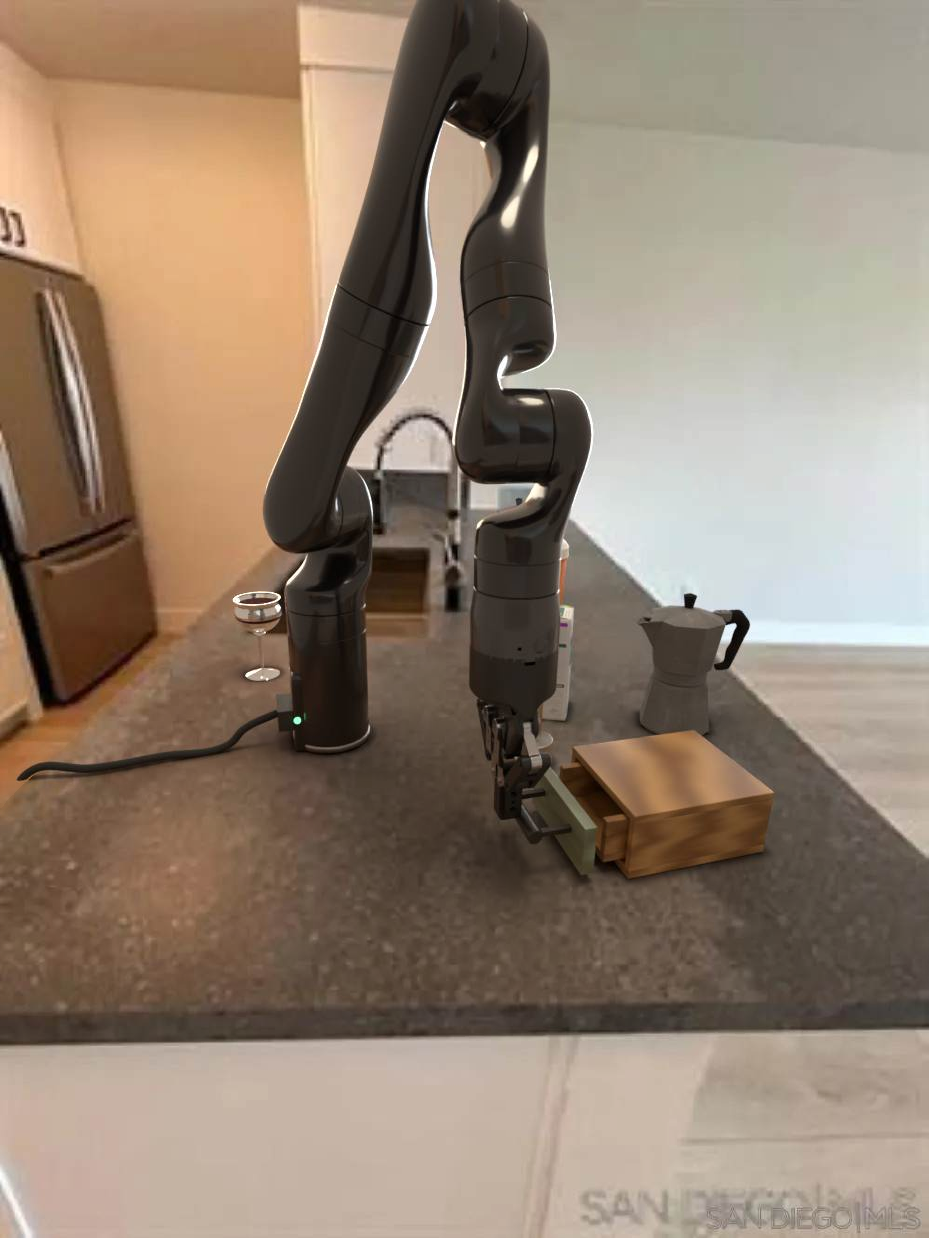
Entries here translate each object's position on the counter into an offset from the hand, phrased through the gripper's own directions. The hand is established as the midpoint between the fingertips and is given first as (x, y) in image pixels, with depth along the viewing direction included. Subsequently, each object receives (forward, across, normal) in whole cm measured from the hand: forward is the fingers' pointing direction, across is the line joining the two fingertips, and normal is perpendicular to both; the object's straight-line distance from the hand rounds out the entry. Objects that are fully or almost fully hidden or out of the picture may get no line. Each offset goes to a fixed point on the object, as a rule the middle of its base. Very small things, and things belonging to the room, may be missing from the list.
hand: (507, 814), depth 62 cm
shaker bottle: (+5, -52, +24) cm, 58 cm away
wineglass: (+4, -49, -22) cm, 54 cm away
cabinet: (+4, 0, +17) cm, 17 cm away
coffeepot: (+5, -19, +32) cm, 37 cm away
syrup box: (+5, -27, +16) cm, 32 cm away
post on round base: (+4, -15, +9) cm, 18 cm away
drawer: (+3, 0, +10) cm, 10 cm away
